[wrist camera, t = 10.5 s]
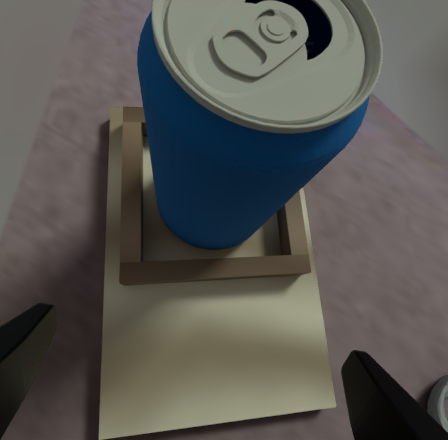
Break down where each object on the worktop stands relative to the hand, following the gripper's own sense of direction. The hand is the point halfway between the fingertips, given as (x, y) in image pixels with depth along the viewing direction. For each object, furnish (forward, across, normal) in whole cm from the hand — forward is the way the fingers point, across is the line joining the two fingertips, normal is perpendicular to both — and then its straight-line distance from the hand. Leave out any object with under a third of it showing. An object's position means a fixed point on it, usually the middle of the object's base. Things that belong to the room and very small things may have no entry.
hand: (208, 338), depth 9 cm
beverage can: (+11, 0, 0) cm, 11 cm away
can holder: (+9, 0, +3) cm, 10 cm away
